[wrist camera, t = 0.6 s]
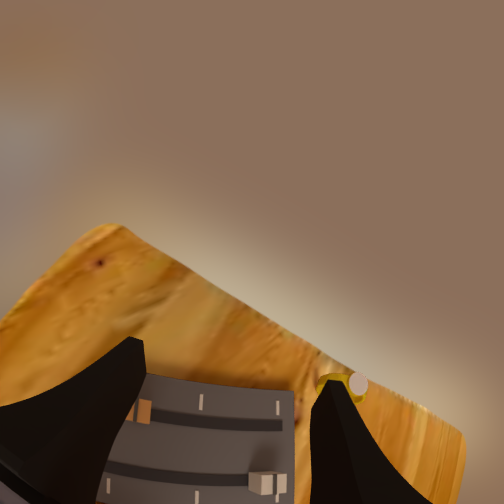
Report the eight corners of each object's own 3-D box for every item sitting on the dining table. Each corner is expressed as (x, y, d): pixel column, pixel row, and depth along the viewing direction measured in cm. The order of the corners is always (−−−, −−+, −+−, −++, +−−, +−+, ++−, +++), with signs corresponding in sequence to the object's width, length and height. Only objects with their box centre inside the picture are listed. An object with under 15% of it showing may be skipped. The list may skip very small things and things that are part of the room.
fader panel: (285, 506, 21) (294, 509, 20) (89, 494, 16) (86, 498, 14) (285, 393, 30) (294, 390, 28) (102, 365, 24) (100, 361, 23)
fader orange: (147, 424, 21) (149, 424, 19) (121, 419, 20) (119, 418, 18) (149, 403, 22) (151, 400, 20) (124, 397, 22) (122, 394, 19)
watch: (305, 395, 31) (332, 383, 27) (313, 375, 33) (339, 361, 28) (344, 412, 31) (374, 403, 26) (350, 394, 33) (380, 382, 28)
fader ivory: (271, 488, 21) (287, 493, 18) (248, 490, 20) (262, 496, 18) (271, 470, 22) (287, 473, 20) (248, 471, 21) (262, 475, 19)
